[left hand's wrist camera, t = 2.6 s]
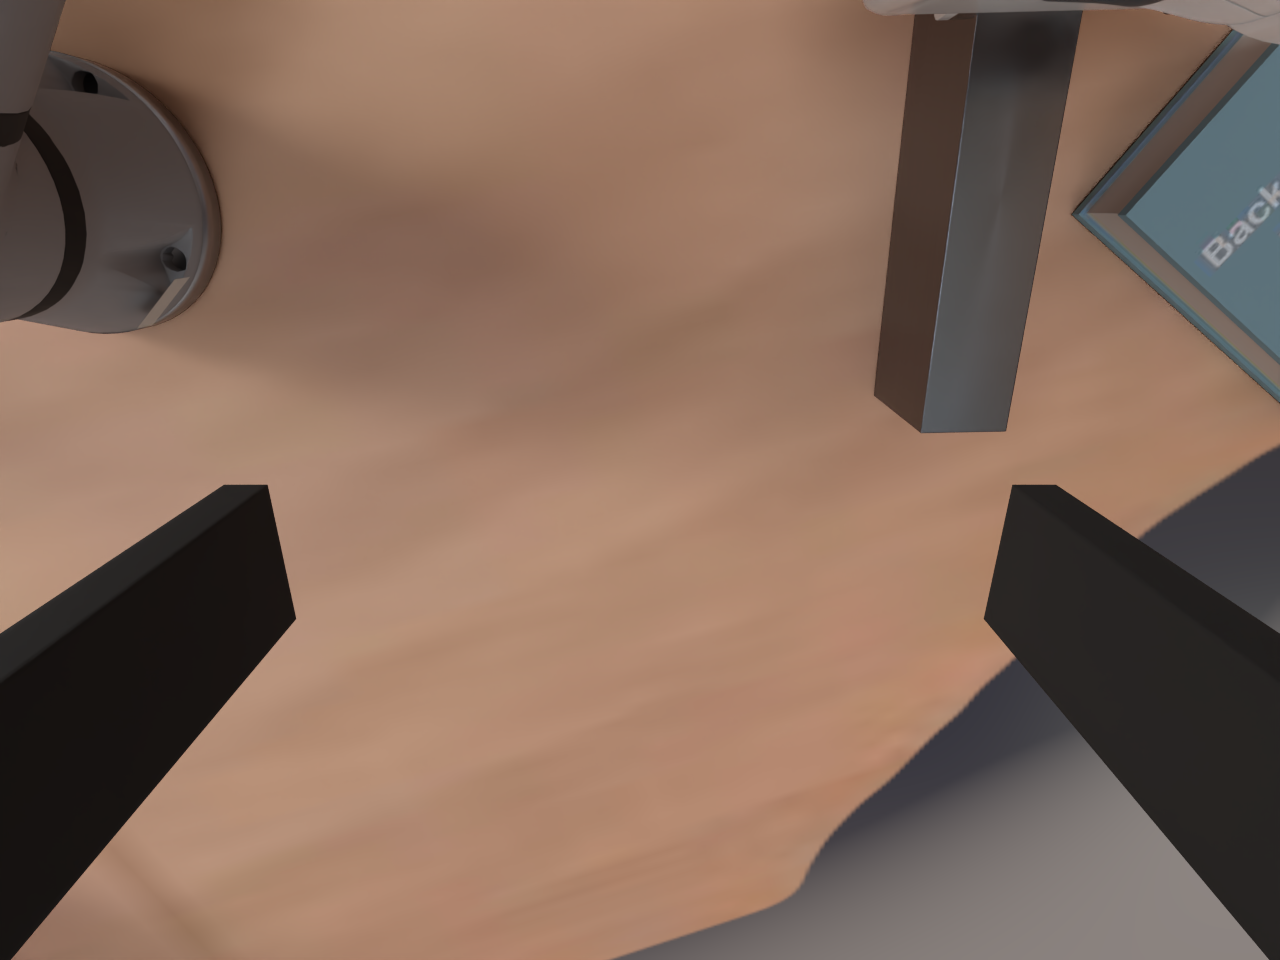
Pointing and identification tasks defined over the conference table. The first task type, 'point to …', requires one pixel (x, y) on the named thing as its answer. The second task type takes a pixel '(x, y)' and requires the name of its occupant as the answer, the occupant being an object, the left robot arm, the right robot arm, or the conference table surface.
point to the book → (1208, 204)
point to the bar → (970, 212)
